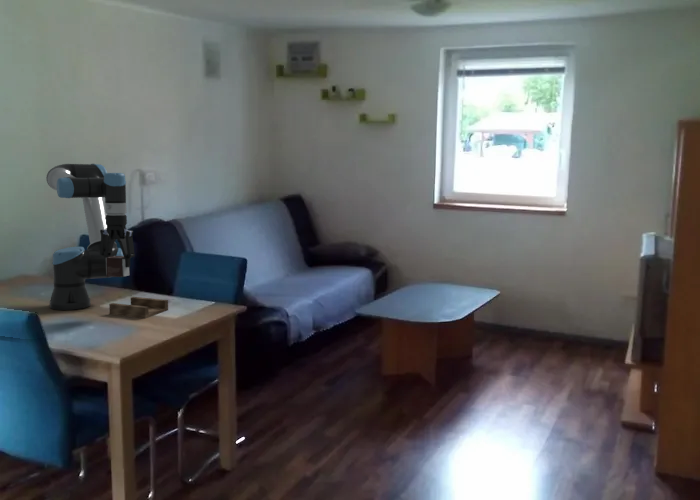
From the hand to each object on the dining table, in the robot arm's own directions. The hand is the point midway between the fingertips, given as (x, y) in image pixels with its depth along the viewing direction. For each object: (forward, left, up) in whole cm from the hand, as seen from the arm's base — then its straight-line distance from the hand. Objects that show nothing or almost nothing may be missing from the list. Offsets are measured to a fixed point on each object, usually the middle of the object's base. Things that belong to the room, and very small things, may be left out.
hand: (117, 275), depth 259 cm
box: (0, 0, -1) cm, 1 cm away
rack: (+4, +7, -15) cm, 17 cm away
